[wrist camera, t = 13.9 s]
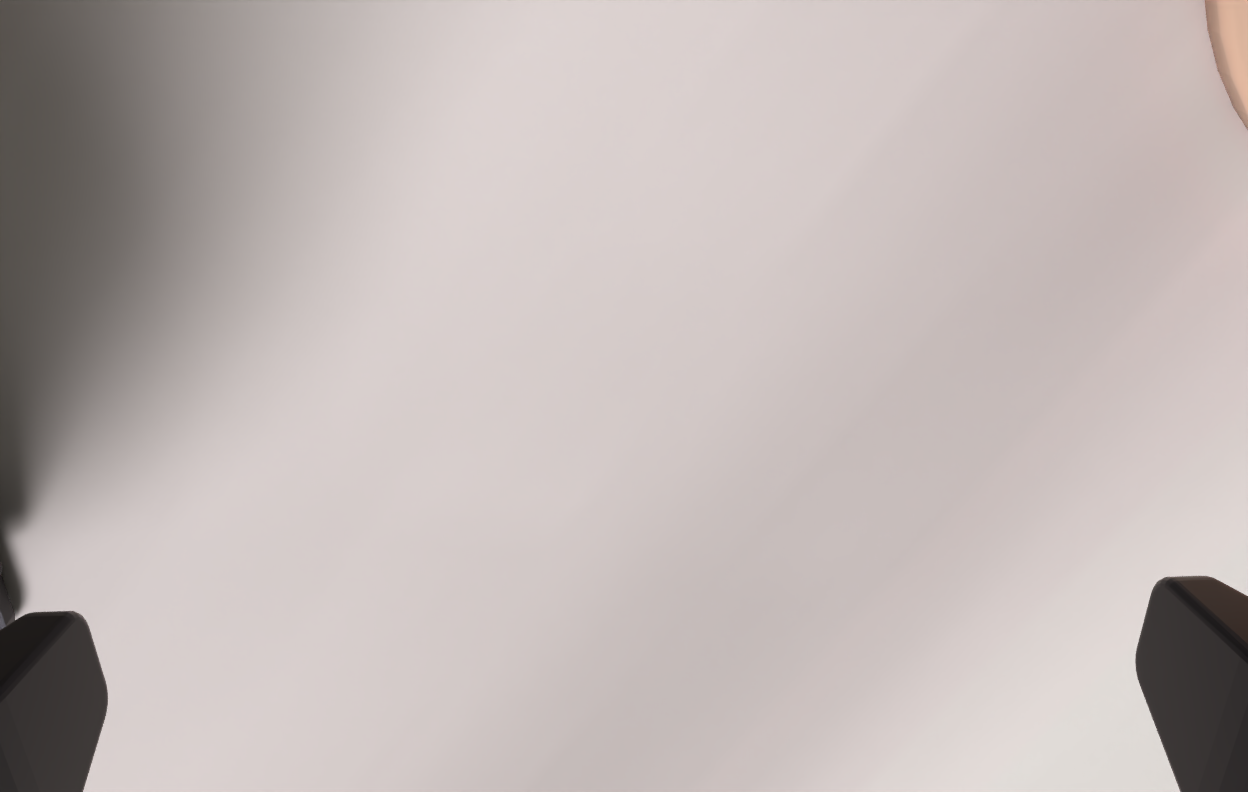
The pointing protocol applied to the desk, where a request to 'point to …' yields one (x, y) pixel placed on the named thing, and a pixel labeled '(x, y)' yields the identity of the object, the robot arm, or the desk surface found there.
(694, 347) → the desk surface
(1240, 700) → the robot arm
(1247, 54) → the coaster
